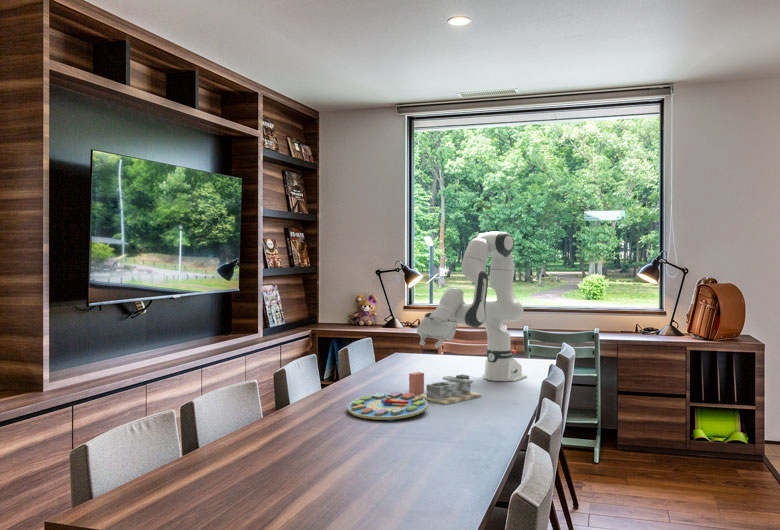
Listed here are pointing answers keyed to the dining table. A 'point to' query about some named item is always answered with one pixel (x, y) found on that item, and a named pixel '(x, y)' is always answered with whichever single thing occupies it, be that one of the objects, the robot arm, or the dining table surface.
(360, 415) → the shape sorting clock
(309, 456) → the dining table surface
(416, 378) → the salmon pink rectangular box
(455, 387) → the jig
